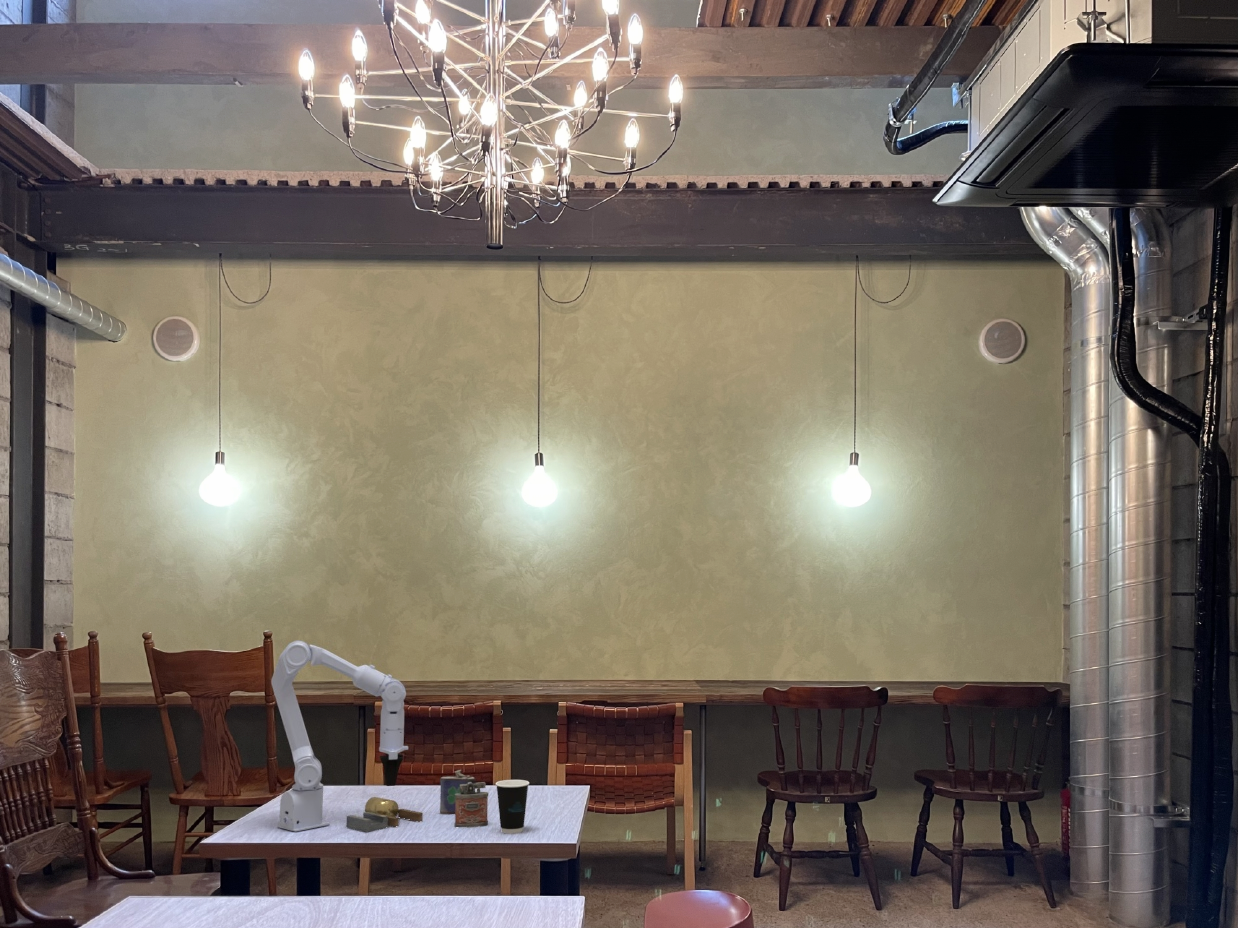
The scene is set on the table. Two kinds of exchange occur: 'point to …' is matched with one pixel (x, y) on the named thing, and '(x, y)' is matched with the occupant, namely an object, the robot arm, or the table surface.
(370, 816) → the v block
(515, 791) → the dixie cup
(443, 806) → the flask
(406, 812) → the brown u-shaped block
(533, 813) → the table surface
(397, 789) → the table surface
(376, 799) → the gold capsule
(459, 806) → the lighter
